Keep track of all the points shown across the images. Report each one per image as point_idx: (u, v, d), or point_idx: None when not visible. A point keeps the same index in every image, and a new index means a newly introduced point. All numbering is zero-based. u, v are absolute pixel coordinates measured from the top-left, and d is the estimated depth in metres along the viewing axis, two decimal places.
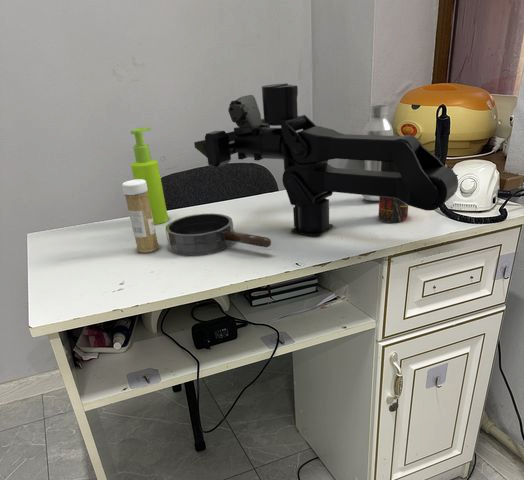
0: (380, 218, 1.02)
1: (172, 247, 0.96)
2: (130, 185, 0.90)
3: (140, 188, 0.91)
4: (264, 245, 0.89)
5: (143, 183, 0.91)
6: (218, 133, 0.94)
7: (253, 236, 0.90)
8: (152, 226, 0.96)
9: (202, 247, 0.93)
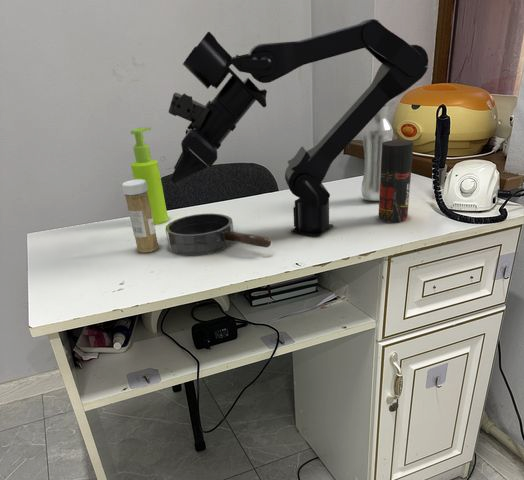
0: (380, 218, 1.02)
1: (172, 247, 0.96)
2: (130, 185, 0.90)
3: (140, 188, 0.91)
4: (264, 245, 0.89)
5: (143, 183, 0.91)
6: (190, 131, 0.82)
7: (253, 236, 0.90)
8: (152, 226, 0.96)
9: (202, 247, 0.93)
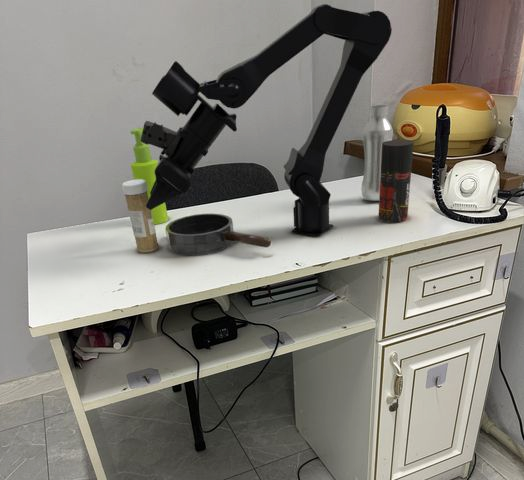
0: (380, 218, 1.02)
1: (172, 247, 0.96)
2: (130, 185, 0.90)
3: (140, 188, 0.91)
4: (264, 245, 0.89)
5: (143, 183, 0.91)
6: (162, 159, 0.83)
7: (253, 236, 0.90)
8: (152, 226, 0.96)
9: (202, 247, 0.93)
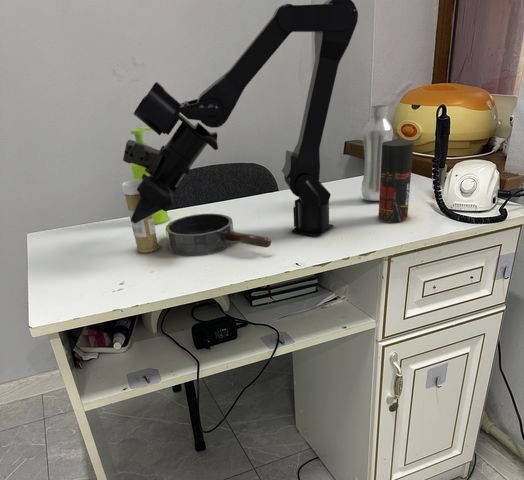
0: (380, 218, 1.02)
1: (172, 247, 0.96)
2: (130, 185, 0.90)
3: None
4: (264, 245, 0.89)
5: None
6: (144, 179, 0.85)
7: (253, 236, 0.90)
8: (152, 226, 0.96)
9: (202, 247, 0.93)
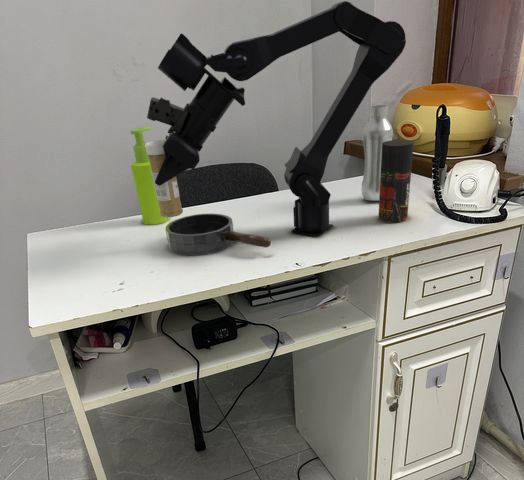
0: (380, 218, 1.02)
1: (172, 247, 0.96)
2: (154, 144, 0.87)
3: None
4: (264, 245, 0.89)
5: None
6: (170, 135, 0.81)
7: (253, 236, 0.90)
8: (176, 189, 0.92)
9: (202, 247, 0.93)
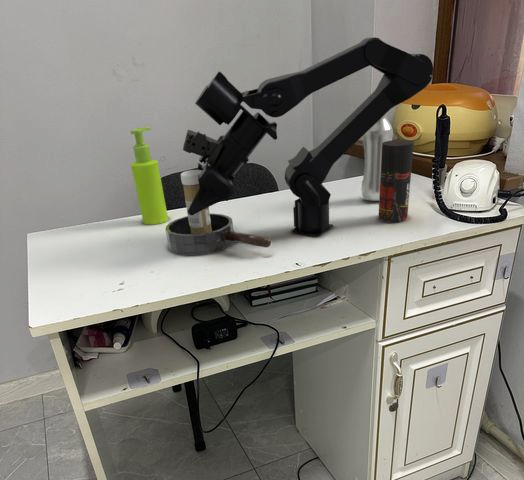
0: (380, 218, 1.02)
1: (172, 247, 0.96)
2: (190, 175, 0.90)
3: None
4: (264, 245, 0.89)
5: None
6: (206, 168, 0.85)
7: (253, 236, 0.90)
8: (208, 217, 0.96)
9: (202, 247, 0.93)
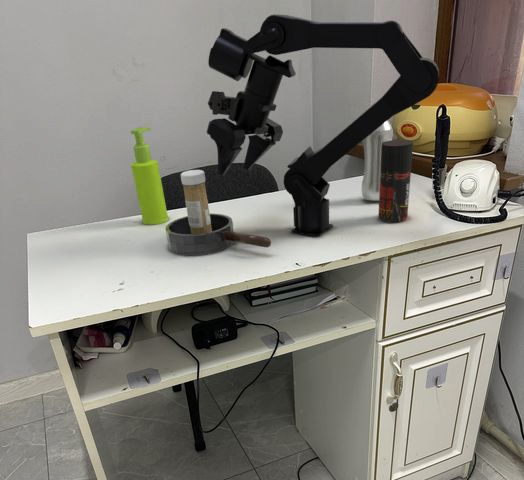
0: (380, 218, 1.02)
1: (172, 247, 0.96)
2: (190, 175, 0.90)
3: (199, 178, 0.91)
4: (264, 245, 0.89)
5: (202, 173, 0.91)
6: None
7: (253, 236, 0.90)
8: (208, 217, 0.96)
9: (202, 247, 0.93)
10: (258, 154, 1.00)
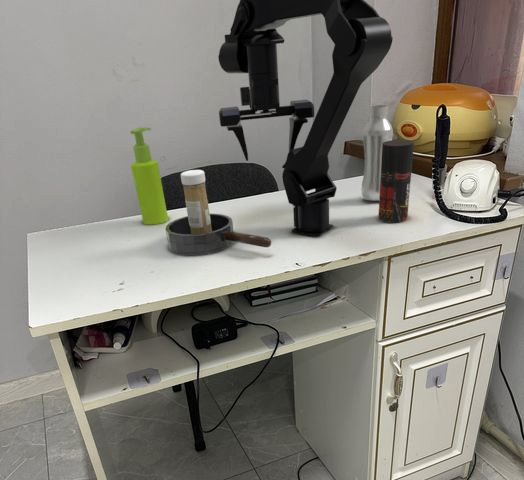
0: (380, 218, 1.02)
1: (172, 247, 0.96)
2: (190, 175, 0.90)
3: (199, 178, 0.91)
4: (264, 245, 0.89)
5: (202, 173, 0.91)
6: None
7: (253, 236, 0.90)
8: (208, 217, 0.96)
9: (202, 247, 0.93)
10: (291, 136, 0.99)
